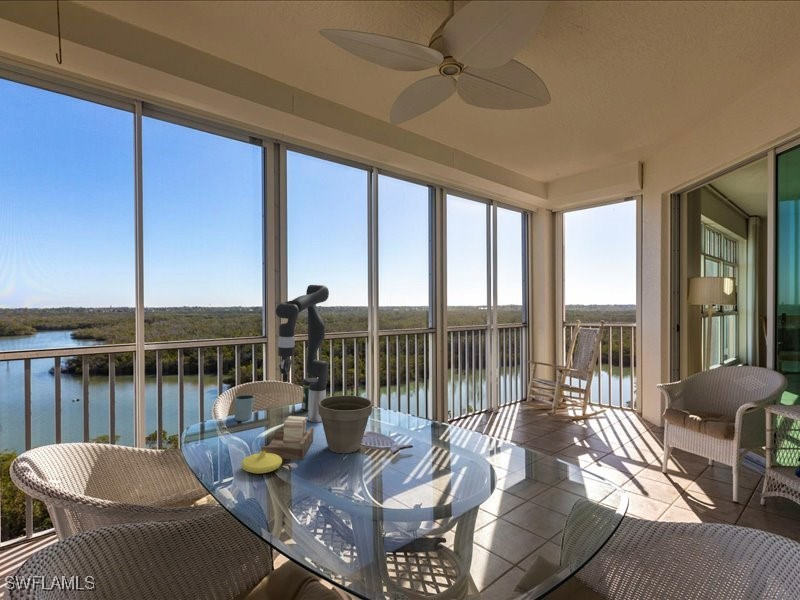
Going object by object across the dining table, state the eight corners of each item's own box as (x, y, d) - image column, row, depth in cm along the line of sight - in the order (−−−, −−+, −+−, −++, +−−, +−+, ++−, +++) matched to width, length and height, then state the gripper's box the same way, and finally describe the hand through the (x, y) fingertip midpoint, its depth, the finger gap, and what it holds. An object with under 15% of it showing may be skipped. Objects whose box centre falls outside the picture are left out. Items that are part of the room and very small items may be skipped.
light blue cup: (229, 419, 223) (230, 397, 223) (241, 414, 233) (242, 393, 232) (245, 422, 220) (246, 400, 220) (257, 417, 230) (258, 395, 229)
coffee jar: (314, 405, 256) (316, 376, 256) (319, 409, 250) (321, 378, 249) (299, 407, 251) (301, 377, 250) (304, 411, 244) (305, 380, 244)
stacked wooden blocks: (287, 441, 192) (288, 415, 192) (305, 442, 192) (306, 416, 192) (282, 448, 184) (283, 421, 184) (301, 449, 184) (302, 422, 184)
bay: (275, 439, 199) (276, 425, 199) (312, 441, 199) (313, 427, 199) (260, 457, 178) (261, 441, 178) (302, 459, 178) (303, 443, 178)
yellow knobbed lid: (267, 457, 178) (268, 441, 178) (289, 469, 168) (290, 452, 168) (233, 468, 166) (234, 451, 166) (254, 482, 156) (255, 463, 156)
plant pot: (318, 460, 178) (320, 410, 177) (314, 439, 202) (316, 395, 201) (374, 457, 185) (377, 409, 184) (364, 437, 208) (367, 394, 208)
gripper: (290, 348, 190) (289, 385, 190) (297, 343, 203) (296, 378, 204) (274, 347, 190) (273, 384, 191) (282, 343, 203) (281, 377, 204)
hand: (285, 381), depth 197 cm, fingers closed
